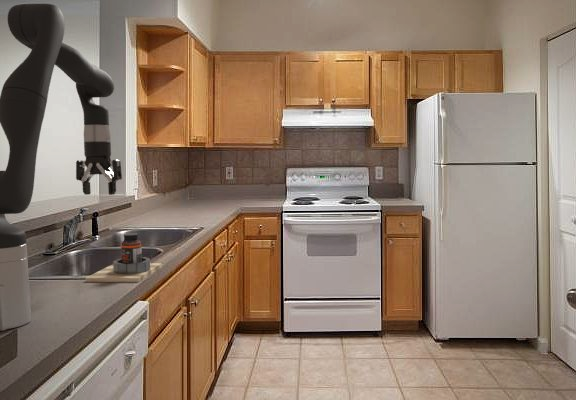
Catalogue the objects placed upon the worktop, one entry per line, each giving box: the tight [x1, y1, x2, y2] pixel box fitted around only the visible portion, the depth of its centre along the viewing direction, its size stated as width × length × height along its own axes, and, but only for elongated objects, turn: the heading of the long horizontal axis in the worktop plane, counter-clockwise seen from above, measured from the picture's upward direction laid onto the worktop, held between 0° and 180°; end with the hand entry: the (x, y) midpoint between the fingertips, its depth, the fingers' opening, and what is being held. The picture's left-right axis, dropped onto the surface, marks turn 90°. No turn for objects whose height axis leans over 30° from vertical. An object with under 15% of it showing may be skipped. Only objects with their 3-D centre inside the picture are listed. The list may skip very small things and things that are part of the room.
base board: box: [85, 262, 163, 283], centre depth 155 cm, size 20×16×1 cm
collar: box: [112, 256, 151, 274], centre depth 155 cm, size 11×11×3 cm
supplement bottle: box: [120, 232, 143, 263], centre depth 154 cm, size 6×6×11 cm
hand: (99, 194), depth 152 cm, fingers open, 8 cm apart
